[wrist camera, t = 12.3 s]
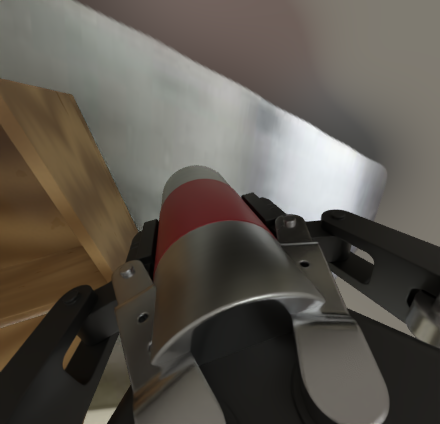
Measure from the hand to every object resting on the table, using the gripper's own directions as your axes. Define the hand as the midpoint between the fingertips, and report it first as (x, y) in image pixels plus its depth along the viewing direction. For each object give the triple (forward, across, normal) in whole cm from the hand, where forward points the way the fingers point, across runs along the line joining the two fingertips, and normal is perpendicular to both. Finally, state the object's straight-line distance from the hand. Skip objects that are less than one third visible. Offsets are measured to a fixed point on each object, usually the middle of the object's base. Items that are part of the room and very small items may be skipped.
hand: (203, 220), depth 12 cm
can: (+4, 0, 0) cm, 4 cm away
